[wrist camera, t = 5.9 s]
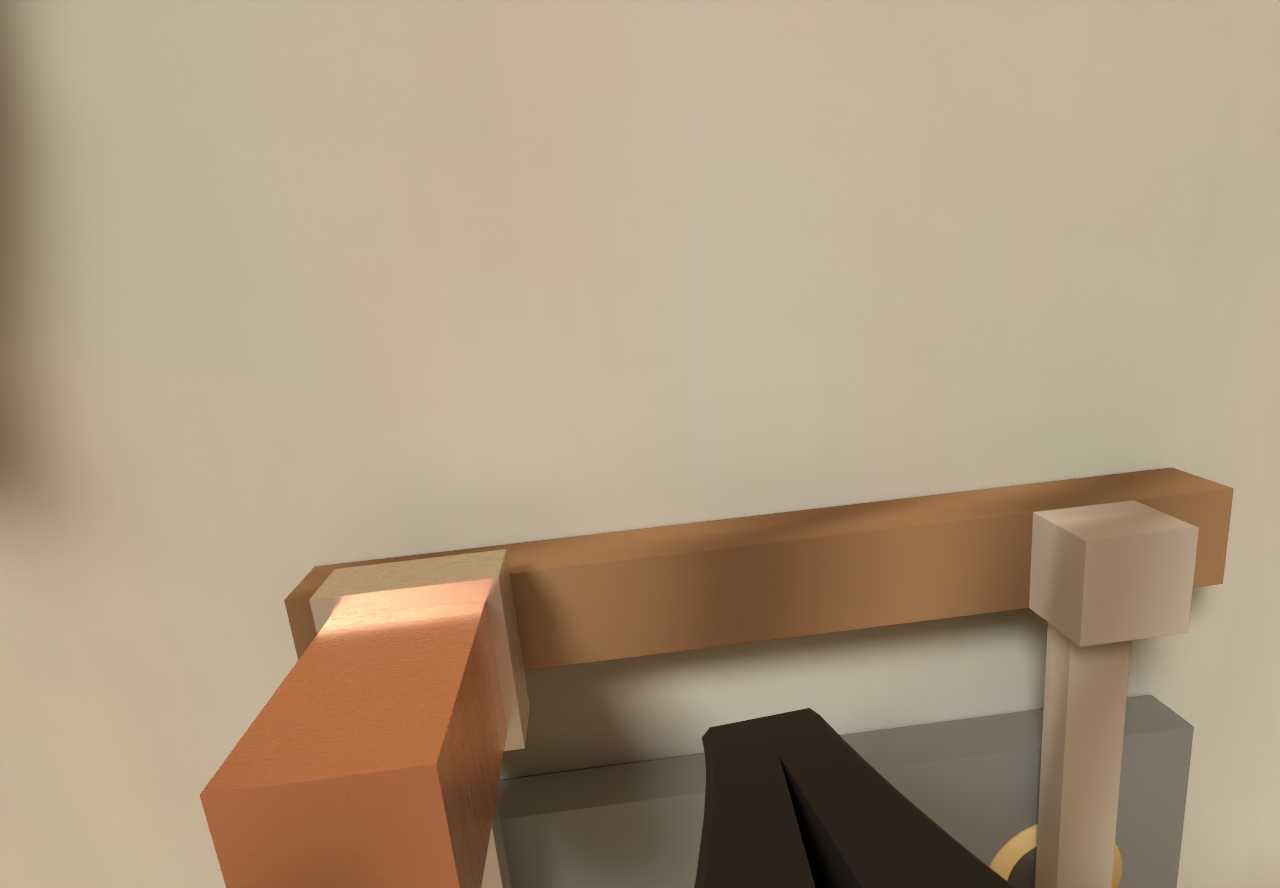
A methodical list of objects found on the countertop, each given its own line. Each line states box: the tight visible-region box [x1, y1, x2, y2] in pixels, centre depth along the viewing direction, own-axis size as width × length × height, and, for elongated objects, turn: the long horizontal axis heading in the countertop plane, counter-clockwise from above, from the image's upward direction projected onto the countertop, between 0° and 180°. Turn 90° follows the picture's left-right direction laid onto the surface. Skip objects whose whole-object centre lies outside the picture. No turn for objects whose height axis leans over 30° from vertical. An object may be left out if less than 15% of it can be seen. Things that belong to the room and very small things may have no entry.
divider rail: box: [284, 468, 1233, 888], centre depth 15 cm, size 18×10×3 cm, turn 95°
